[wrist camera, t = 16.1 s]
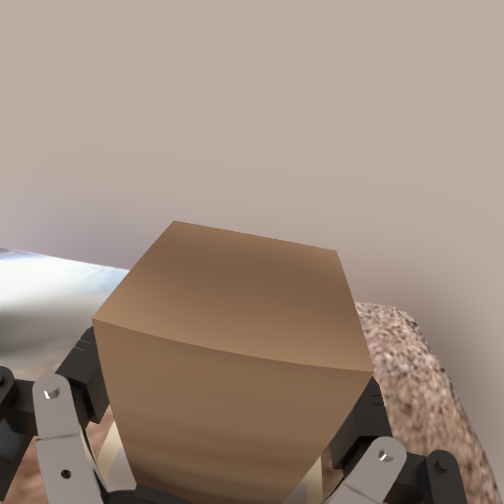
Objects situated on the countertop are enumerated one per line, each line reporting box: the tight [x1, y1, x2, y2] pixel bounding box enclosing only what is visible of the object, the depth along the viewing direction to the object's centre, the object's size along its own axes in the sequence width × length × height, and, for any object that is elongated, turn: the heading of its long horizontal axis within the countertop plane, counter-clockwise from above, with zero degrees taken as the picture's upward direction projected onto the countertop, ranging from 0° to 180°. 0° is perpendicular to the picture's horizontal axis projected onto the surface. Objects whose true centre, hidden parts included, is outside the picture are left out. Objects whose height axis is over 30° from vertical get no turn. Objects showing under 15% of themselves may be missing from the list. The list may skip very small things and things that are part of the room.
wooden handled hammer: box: [92, 221, 374, 504], centre depth 9 cm, size 4×10×16 cm, turn 85°
